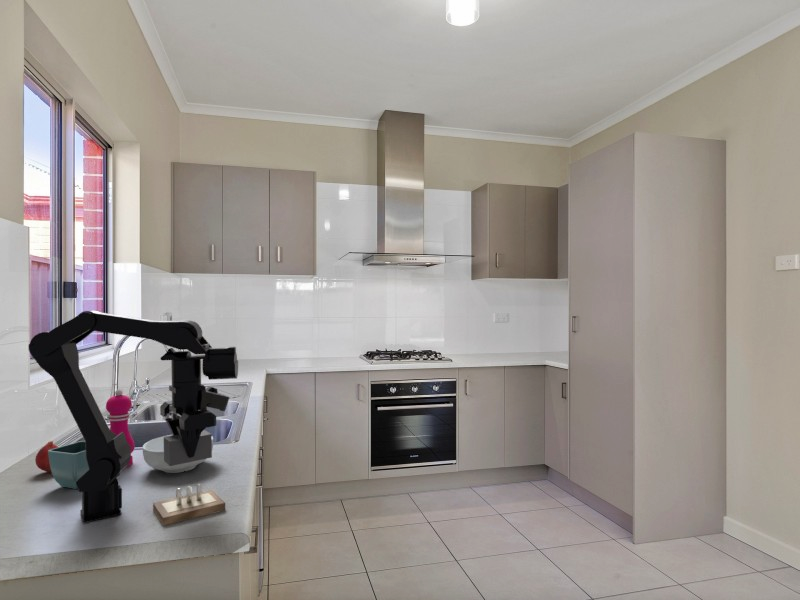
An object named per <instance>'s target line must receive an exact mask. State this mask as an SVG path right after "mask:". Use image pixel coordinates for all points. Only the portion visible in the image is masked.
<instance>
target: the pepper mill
mask: <svg viewBox="0 0 800 600" xmlns="http://www.w3.org/2000/svg"><path fill="white" fill-rule="evenodd" d="M123 392H124V391H123V390H122V389H120V388H119V389H116V390H115V391H114V394H115V395H113V396H111V397H109V399H107V401H106V402H105V403H106V404H105V410H106V411H107V412H108V415H107V416H108V419H107V420H108V421H109V423H110V425H109V429H110V430H111V431H112V432H113V433H115V434H116V435H119V434H120V433H122V432H123V433H124V434H125V437H126V441H127V443H128V444H129V445H130V446H131V447H132V449H131V450H130V453H131V454H132V453H133V452H134V451H135V448H136V447H135V441H134V439H133V437H132V435H131V433H130V431H129V426H128V425H129V419H130V418H131V416H130V414H131V413H130V412H129V411H130V410H131V408H132V406H133V405H132V404H133V403H132V402H133V401H132V400H131V398H130V397H129V396H127V395H124V394H123ZM133 459H134V458H133V455H131V459H130V461H129V464H128V465H127V466H126V467H129V466H131V465H132V464H133V462H134V461H133ZM126 467H125V468H126Z"/></svg>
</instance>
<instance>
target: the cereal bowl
mask: <svg viewBox="0 0 800 600" xmlns="http://www.w3.org/2000/svg"><path fill="white" fill-rule="evenodd" d="M172 435H173V434H169V435H168V434H167V435H163V436H160V437H156V438H153V439H150V440H148V441H147V442H145V443H144V444H143V445H142V456H143V460H144V462H145V463H146V464H147V466H148V467H150V468H152V469H154V470H157V471H163V472H164V473H168V474H169V473H170V474H177V473H184V471H185V472H188V471H190V470H193V469H195V468H196V467H197V465H200V464H202V463H203V462H205V461H206V460H207V459H202V460H198V461H193V462H188V463H183V464H178V465H174V466H169V465H168V464H167V463H166V462H165V461H164V437H166V436H172ZM213 449H214V436H212V451H213Z"/></svg>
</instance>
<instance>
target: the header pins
mask: <svg viewBox="0 0 800 600" xmlns="http://www.w3.org/2000/svg"><path fill="white" fill-rule="evenodd" d="M202 486H203V485H202V483H198V484H196V493H197V501H201V500H202V492H203V491H202V489H203V487H202ZM192 492H193V487H192V486H191V485H188V486H187V487H186V495H187V503H191V502H192V494H193V493H192ZM182 493H183V492H182V488H180V487H177V488H176V491H175V495H176V496H175V498H176V505H177V506H180V505H182V496H183V495H182Z"/></svg>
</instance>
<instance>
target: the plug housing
mask: <svg viewBox="0 0 800 600" xmlns="http://www.w3.org/2000/svg"><path fill="white" fill-rule="evenodd" d="M171 435H172V436H168V435H165V436H166V437H164V461H165V462H166V463H167V464H168V465H169V466H174V465H178V464H183V463H188V462H193V461H198V460H202V459H206V460H207V459H211V458H213V457H212V456H213V450H212V437H213V435H212V433H210V432H209V431H207V430H205V429H204V430H203V431H202V432H201V435H200V437H199V441H198V444H197V448H196V451H195V455H194V457H191V458H189V457H188V456H187V453H186V451H185V448H184V446H183V443H182V441H181V438H180V436H179V434H178V435H173V434H171Z"/></svg>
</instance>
